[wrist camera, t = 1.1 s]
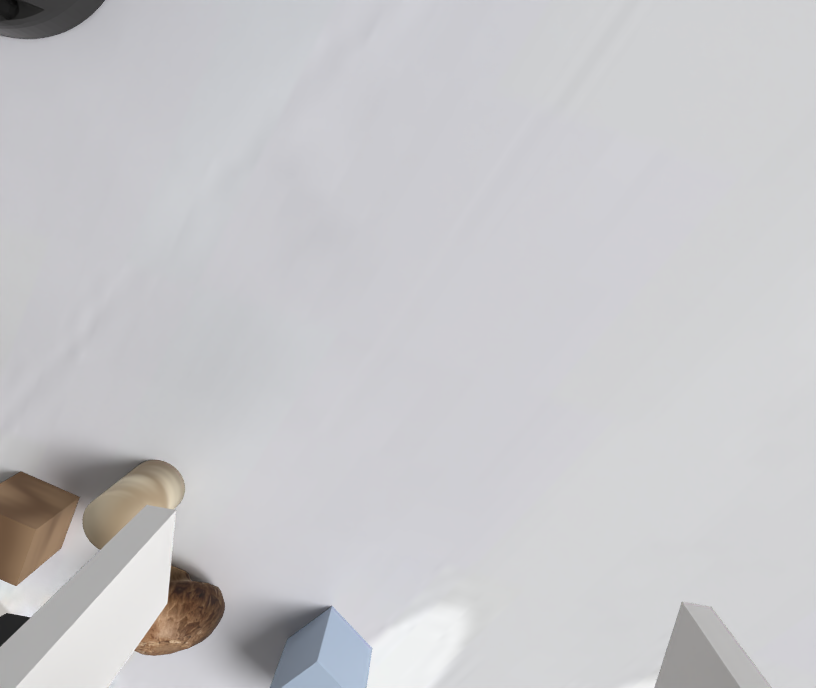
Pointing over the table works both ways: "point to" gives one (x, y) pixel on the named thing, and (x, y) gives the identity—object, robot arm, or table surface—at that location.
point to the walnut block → (31, 524)
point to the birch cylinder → (132, 499)
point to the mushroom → (184, 616)
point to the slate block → (324, 656)
